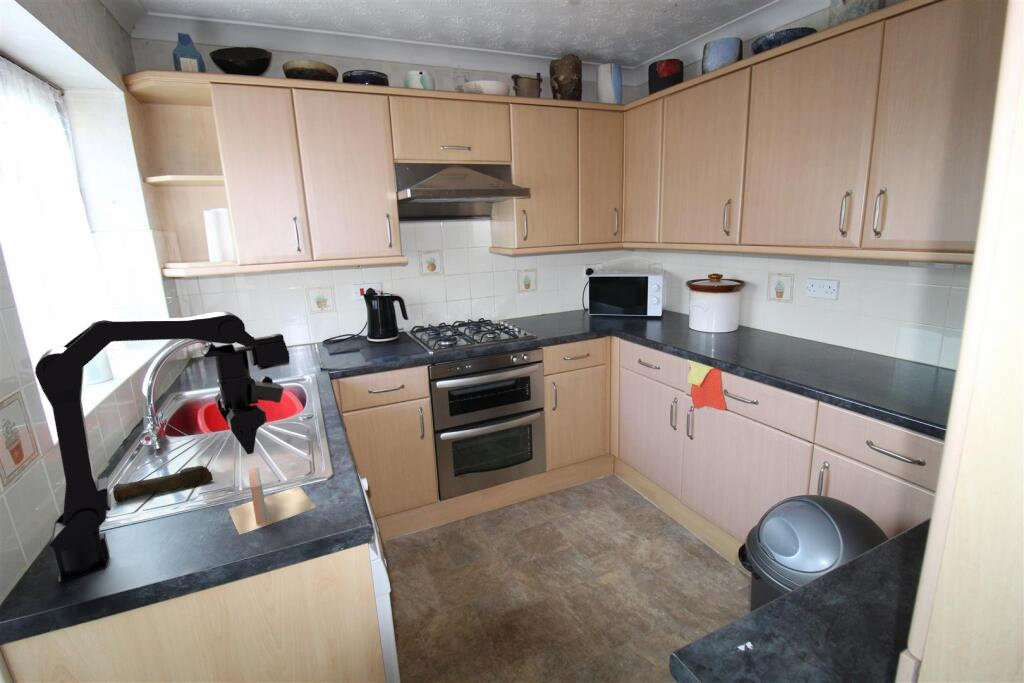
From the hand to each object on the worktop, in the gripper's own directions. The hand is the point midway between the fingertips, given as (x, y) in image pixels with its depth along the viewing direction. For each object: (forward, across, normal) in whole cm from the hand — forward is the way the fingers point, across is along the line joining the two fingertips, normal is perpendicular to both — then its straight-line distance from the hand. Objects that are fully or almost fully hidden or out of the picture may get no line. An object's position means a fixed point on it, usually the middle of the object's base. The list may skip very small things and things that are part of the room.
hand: (245, 446), depth 103 cm
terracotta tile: (+14, -4, 0) cm, 14 cm away
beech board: (+15, -4, -2) cm, 15 cm away
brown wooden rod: (+15, +24, +14) cm, 32 cm away
